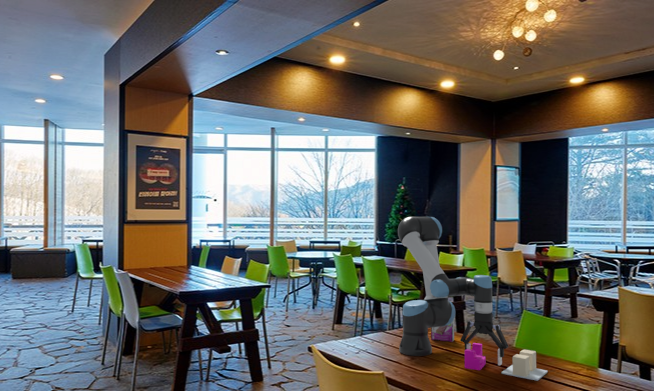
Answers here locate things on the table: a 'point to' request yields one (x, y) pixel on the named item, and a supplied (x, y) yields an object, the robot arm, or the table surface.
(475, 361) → the toy block
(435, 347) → the table surface
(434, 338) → the candy bar box
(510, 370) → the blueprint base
